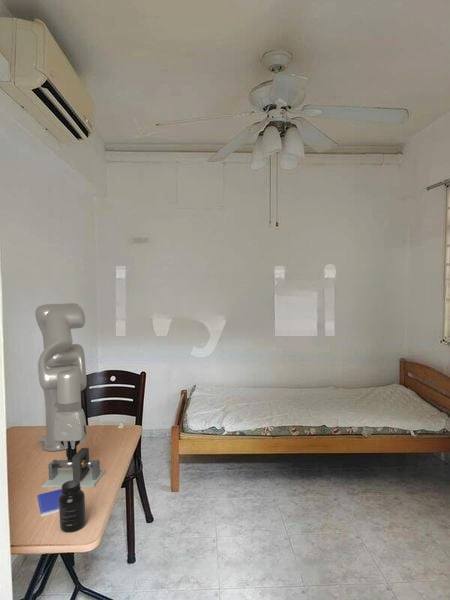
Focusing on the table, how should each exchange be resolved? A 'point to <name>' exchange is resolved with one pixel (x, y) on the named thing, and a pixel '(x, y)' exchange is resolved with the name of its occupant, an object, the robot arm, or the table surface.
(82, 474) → the collar
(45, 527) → the table surface
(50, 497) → the hard drive
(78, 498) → the supplement bottle
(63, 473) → the board
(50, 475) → the rail
